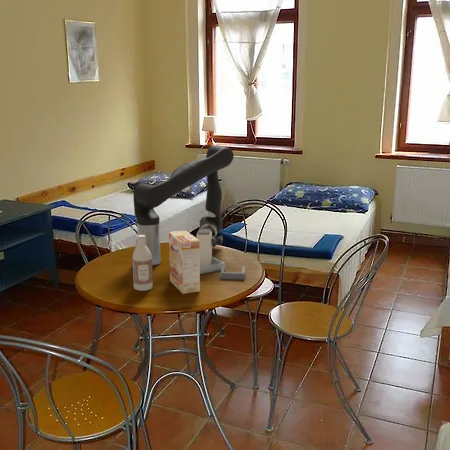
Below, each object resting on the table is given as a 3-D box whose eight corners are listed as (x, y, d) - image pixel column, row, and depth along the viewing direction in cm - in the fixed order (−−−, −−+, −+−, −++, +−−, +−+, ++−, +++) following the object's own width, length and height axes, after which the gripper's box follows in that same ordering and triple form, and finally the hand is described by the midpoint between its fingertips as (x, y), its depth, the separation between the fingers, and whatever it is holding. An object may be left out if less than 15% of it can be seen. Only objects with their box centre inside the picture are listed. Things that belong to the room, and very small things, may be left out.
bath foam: (134, 292, 198) (132, 238, 193) (133, 285, 204) (131, 233, 199) (153, 290, 199) (152, 237, 194) (151, 284, 206) (150, 232, 201)
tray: (194, 275, 215) (194, 268, 215) (178, 265, 227) (178, 259, 226) (225, 269, 223) (225, 263, 222) (208, 260, 234) (208, 254, 233)
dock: (244, 279, 211) (244, 273, 210) (220, 279, 212) (220, 272, 211) (244, 272, 219) (244, 266, 219) (222, 271, 220) (222, 265, 219)
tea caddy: (210, 268, 222) (210, 232, 218) (197, 267, 222) (196, 232, 218) (211, 263, 228) (211, 228, 224) (198, 263, 228) (198, 228, 224)
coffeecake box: (169, 280, 209) (168, 231, 204) (186, 278, 212) (186, 229, 207) (182, 294, 196) (181, 242, 191) (200, 291, 199) (200, 240, 194)
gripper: (191, 225, 236) (186, 235, 220) (224, 225, 235) (221, 236, 219) (191, 241, 237) (186, 253, 221) (224, 242, 237) (221, 254, 221)
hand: (203, 244), depth 220 cm, fingers open, 7 cm apart
